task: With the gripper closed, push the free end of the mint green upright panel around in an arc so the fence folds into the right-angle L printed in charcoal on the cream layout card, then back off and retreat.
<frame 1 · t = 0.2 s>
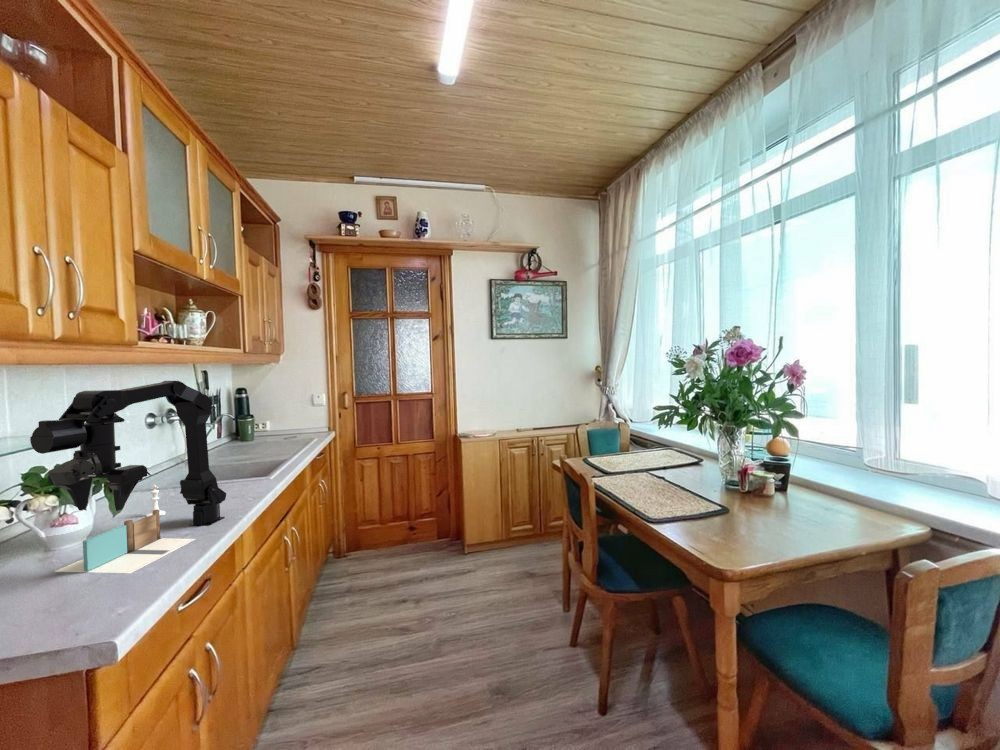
hand: (100, 510, 92), 14 cm above the countertop, tool pointing down, fingers open, 9 cm apart
mint green upright panel: (106, 547, 96), point 4 cm above the countertop, hinge at 0.0°
fence fixed: (129, 551, 101), resting on layout card
chess piece: (155, 516, 127), on the countertop
layout card: (131, 555, 100), on the countertop
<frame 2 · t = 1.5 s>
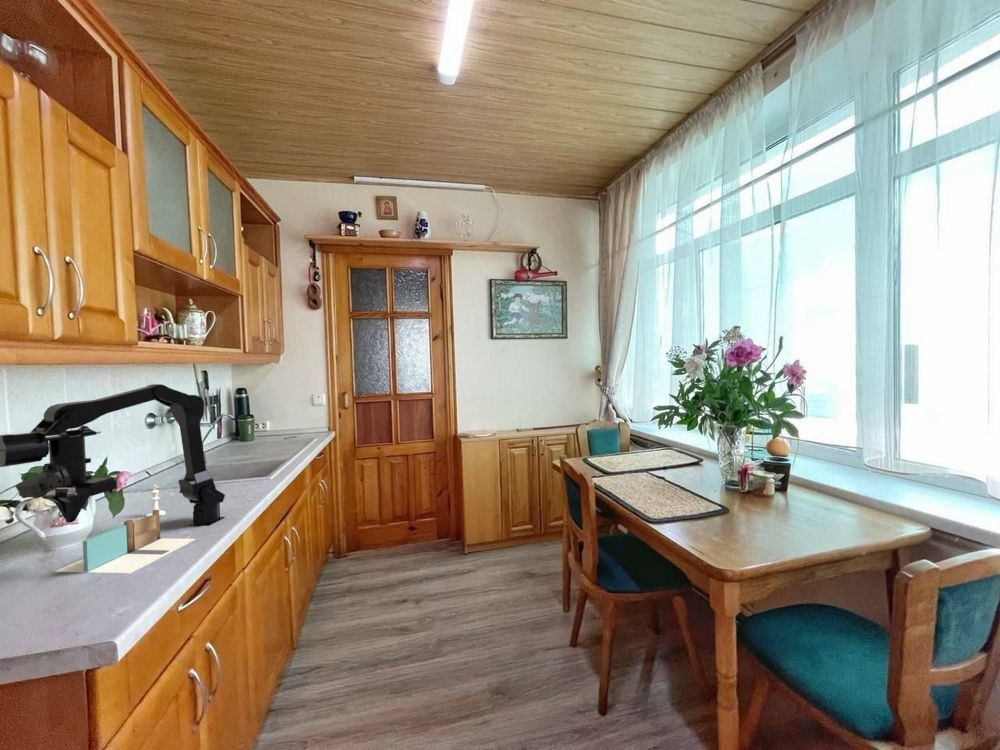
hand: (70, 522, 93), 11 cm above the countertop, tool pointing down, fingers closed
nothing on the countertop moved.
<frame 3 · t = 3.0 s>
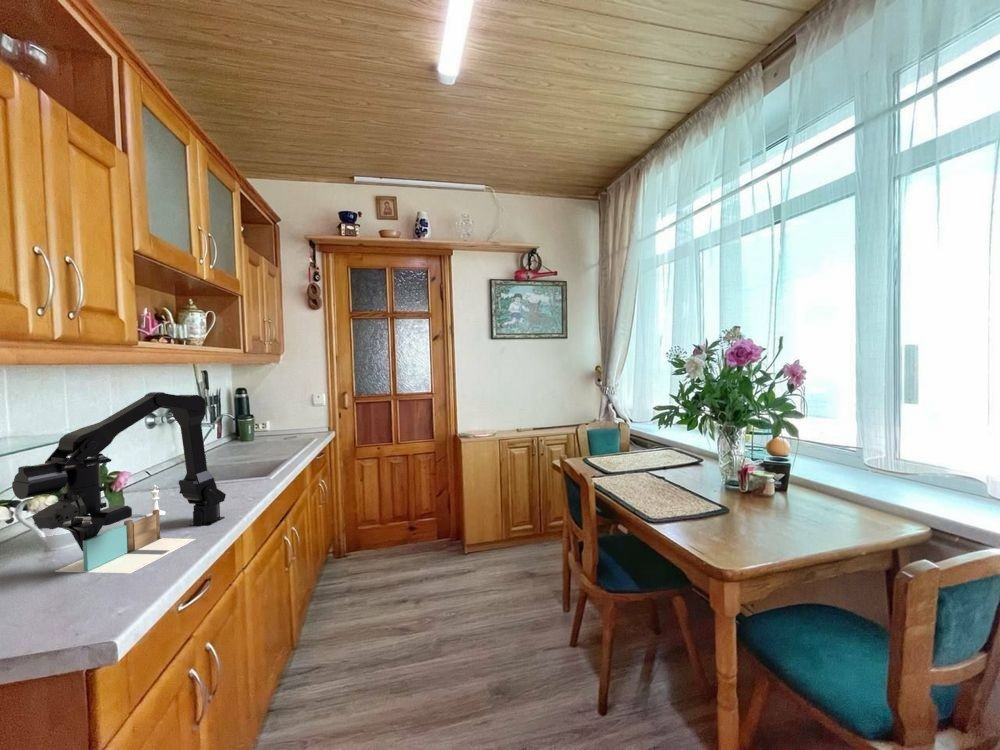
hand: (85, 550, 93), 4 cm above the countertop, tool pointing down, fingers closed
mint green upright panel: (106, 547, 96), point 4 cm above the countertop, hinge at 0.0°, touching gripper
everything else where it was.
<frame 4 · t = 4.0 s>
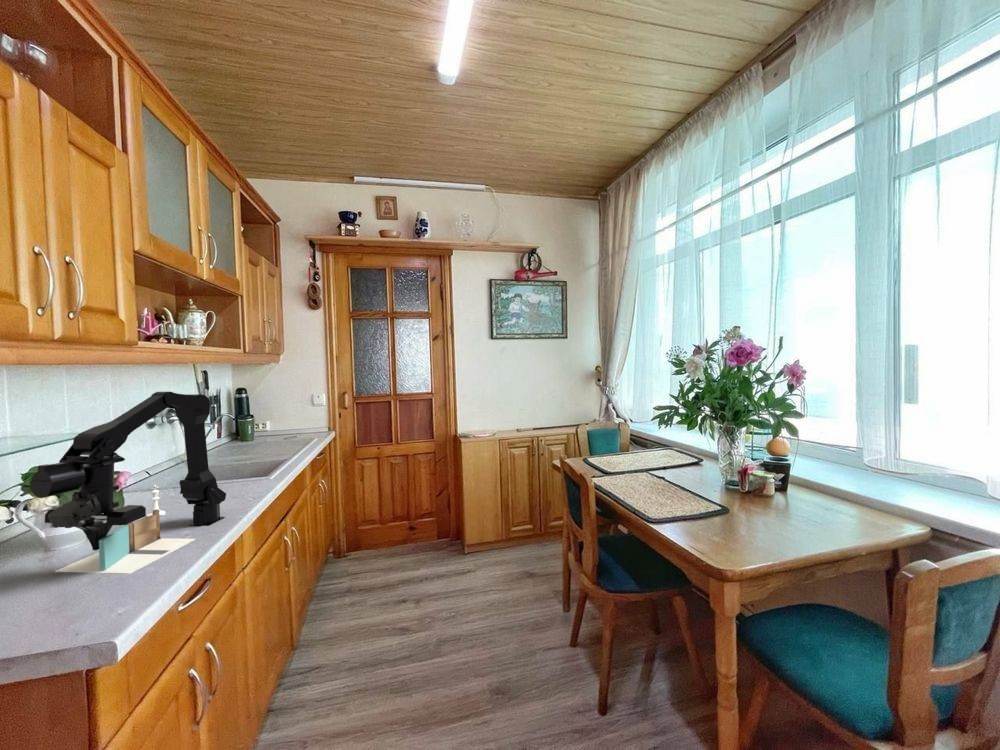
hand: (96, 549, 93), 5 cm above the countertop, tool pointing down, fingers closed
mint green upright panel: (114, 546, 96), point 4 cm above the countertop, hinge at 20.4°, touching gripper
everything else where it was.
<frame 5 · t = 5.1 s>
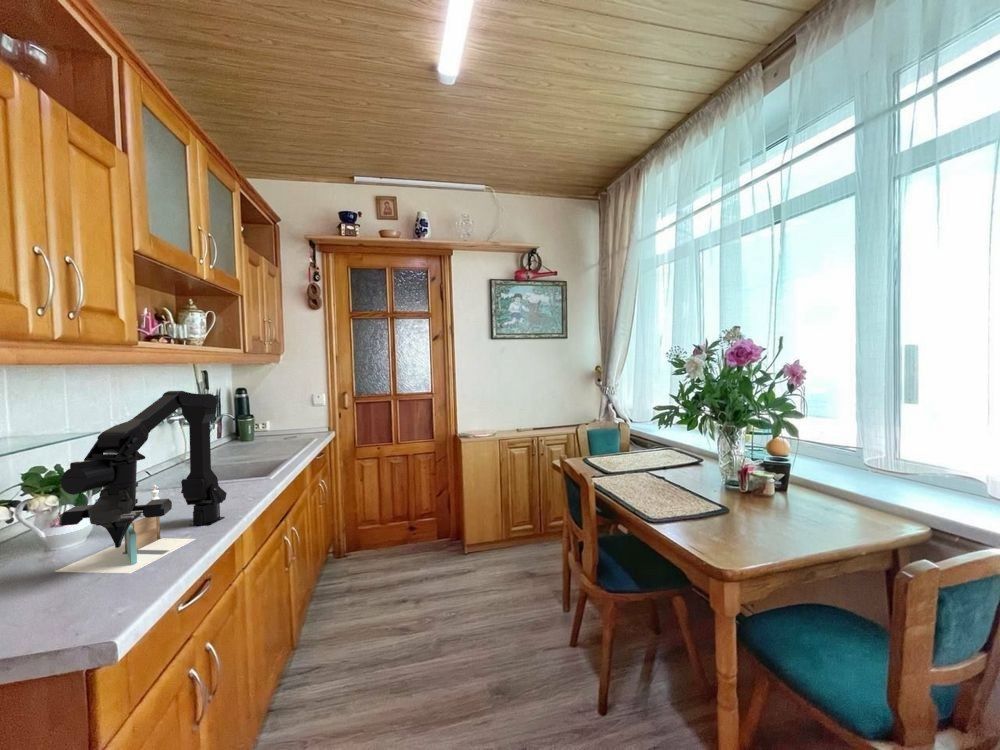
hand: (118, 547, 94), 5 cm above the countertop, tool pointing down, fingers closed
mint green upright panel: (131, 543, 97), point 4 cm above the countertop, hinge at 52.2°, touching gripper
everything else where it was.
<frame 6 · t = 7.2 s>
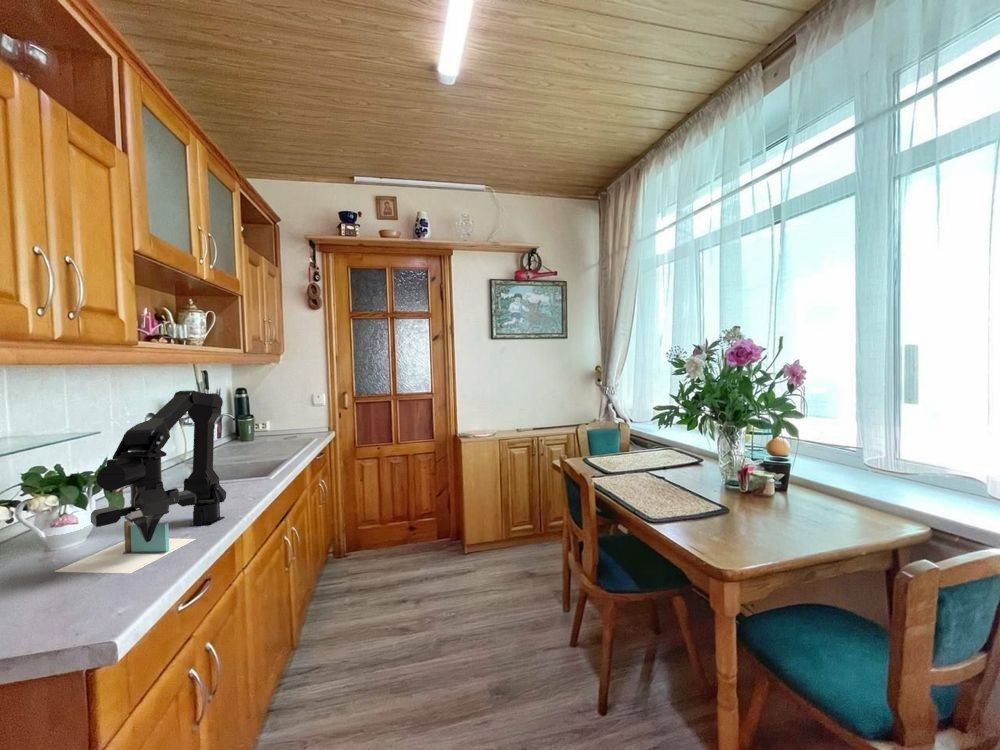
hand: (147, 541, 97), 5 cm above the countertop, tool pointing down, fingers closed
mint green upright panel: (149, 537, 101), point 4 cm above the countertop, hinge at 92.8°
everything else where it was.
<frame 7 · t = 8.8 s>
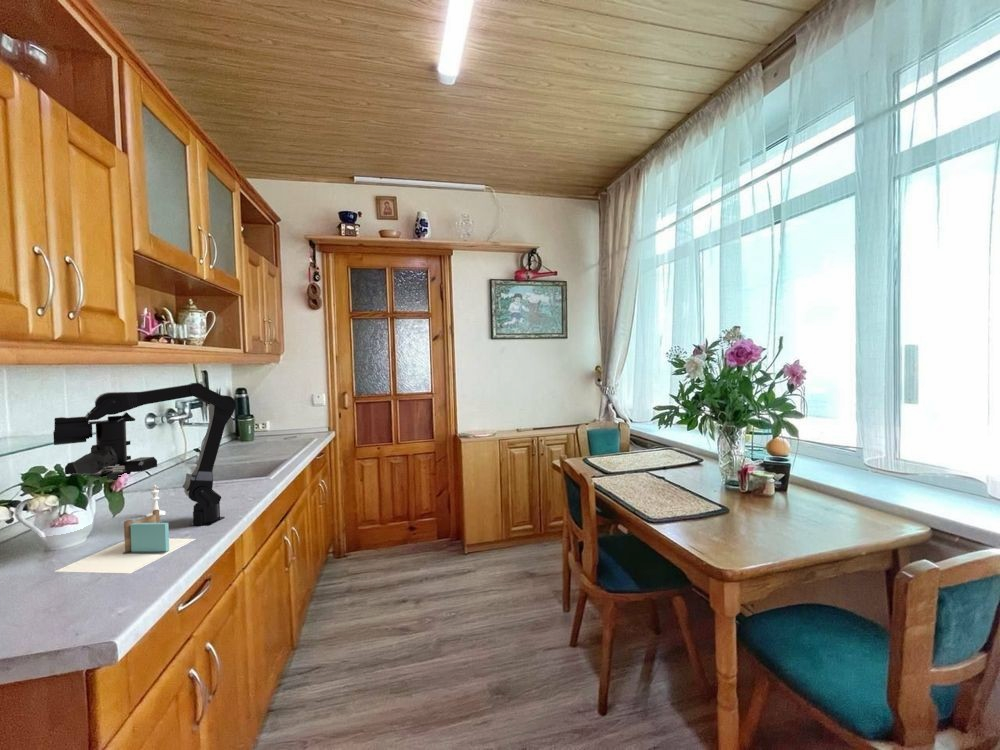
hand: (113, 497, 106), 13 cm above the countertop, tool pointing down, fingers closed
nothing on the countertop moved.
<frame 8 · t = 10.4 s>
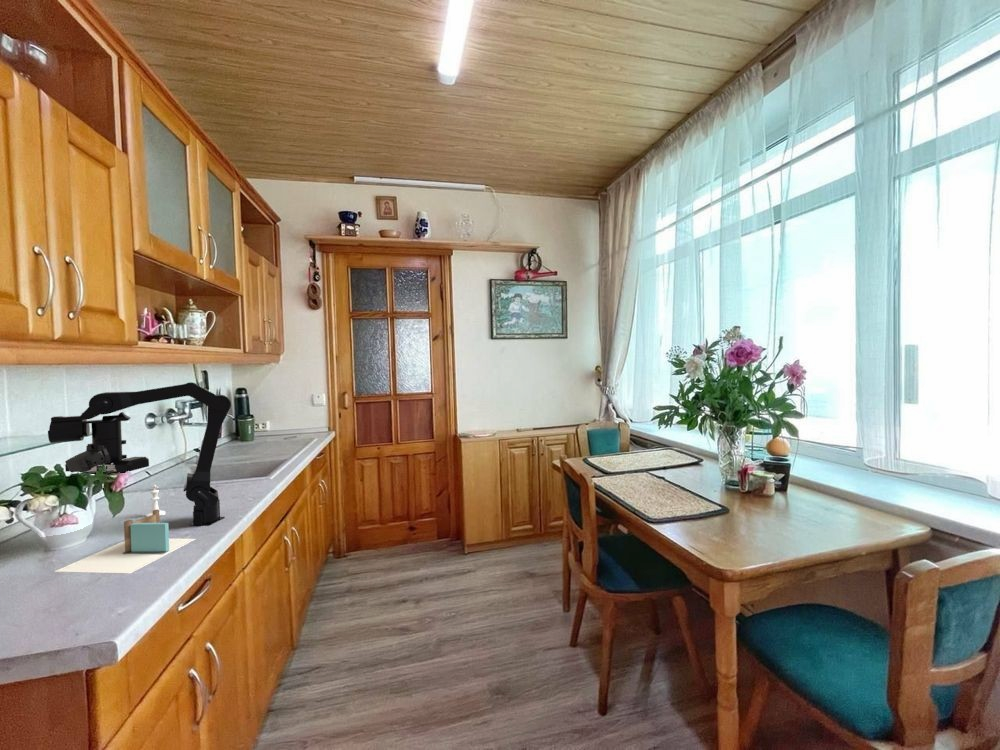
hand: (109, 495, 108), 13 cm above the countertop, tool pointing down, fingers closed
nothing on the countertop moved.
at the end: mint green upright panel at +93° (first picture: +0°) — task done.
